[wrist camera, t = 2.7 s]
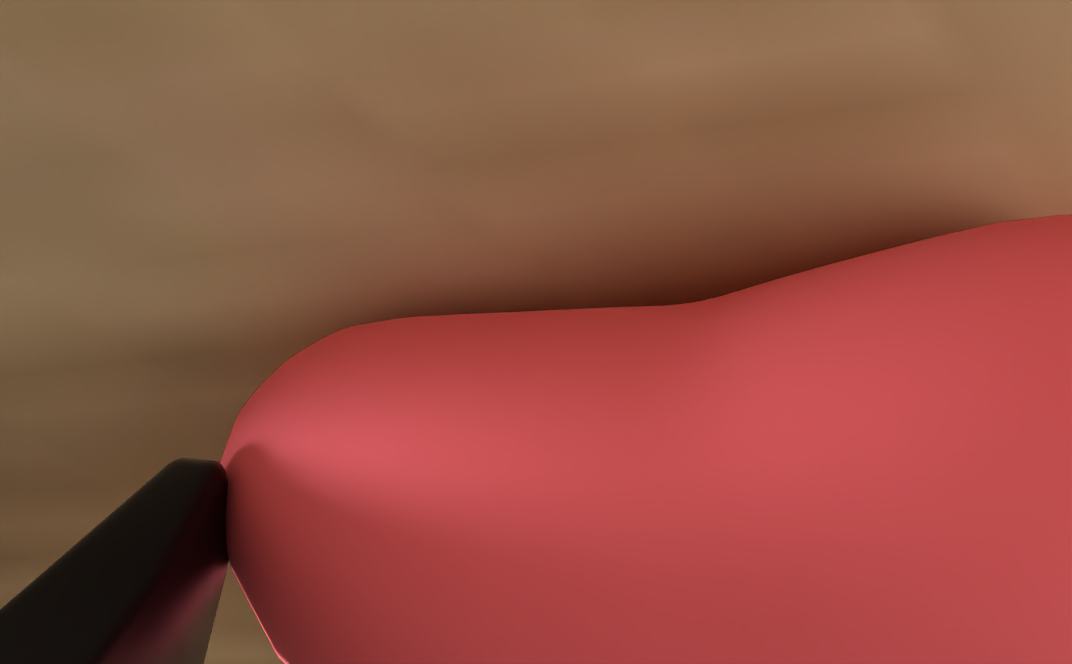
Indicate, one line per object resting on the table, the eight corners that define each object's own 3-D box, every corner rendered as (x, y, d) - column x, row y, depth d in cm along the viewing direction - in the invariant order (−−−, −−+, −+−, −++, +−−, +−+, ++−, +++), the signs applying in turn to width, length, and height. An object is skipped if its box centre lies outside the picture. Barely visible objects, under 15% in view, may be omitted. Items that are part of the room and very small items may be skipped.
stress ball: (920, 500, 14) (1415, 823, 8) (292, 695, 12) (339, 1319, 6) (911, 141, 12) (1524, 214, 6) (181, 293, 10) (93, 607, 4)
